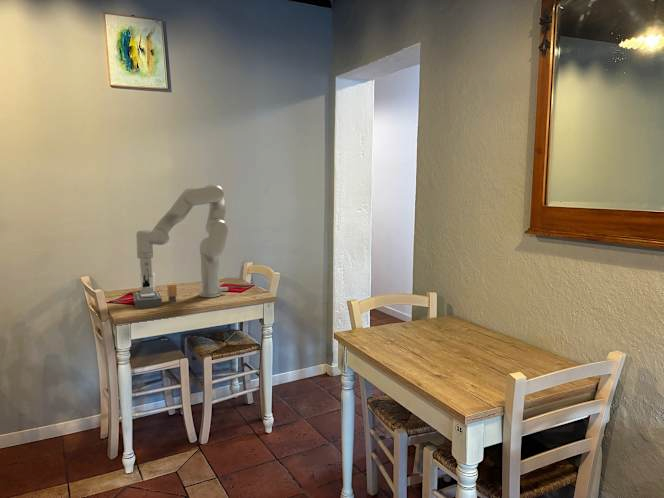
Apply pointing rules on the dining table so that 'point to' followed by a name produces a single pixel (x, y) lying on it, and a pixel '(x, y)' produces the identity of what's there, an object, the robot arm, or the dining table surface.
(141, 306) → the grey sliding cover box
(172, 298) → the tan rectangular block
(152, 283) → the white cup
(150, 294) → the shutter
